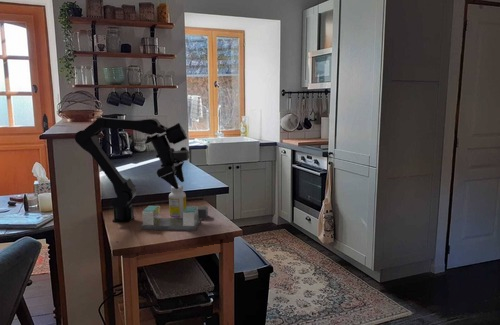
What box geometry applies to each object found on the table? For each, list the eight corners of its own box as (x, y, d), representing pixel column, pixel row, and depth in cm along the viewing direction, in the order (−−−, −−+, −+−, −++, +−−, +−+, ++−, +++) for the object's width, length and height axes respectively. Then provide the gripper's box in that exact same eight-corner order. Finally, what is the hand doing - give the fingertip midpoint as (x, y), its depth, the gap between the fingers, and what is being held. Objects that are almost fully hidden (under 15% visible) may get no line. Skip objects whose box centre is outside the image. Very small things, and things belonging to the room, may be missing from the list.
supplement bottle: (182, 214, 159) (181, 183, 156) (189, 218, 153) (188, 187, 151) (167, 216, 155) (166, 185, 153) (173, 221, 150) (172, 189, 147)
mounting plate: (141, 229, 140) (140, 211, 139) (149, 221, 149) (148, 204, 148) (195, 230, 139) (194, 212, 138) (200, 222, 148) (199, 205, 147)
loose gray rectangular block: (193, 218, 153) (193, 209, 152) (195, 215, 157) (195, 206, 156) (206, 219, 152) (205, 209, 152) (207, 216, 156) (207, 206, 156)
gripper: (175, 146, 138) (193, 184, 140) (187, 137, 156) (203, 171, 159) (148, 157, 139) (166, 195, 142) (162, 147, 157) (179, 181, 160)
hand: (180, 185), depth 151 cm, fingers open, 9 cm apart
